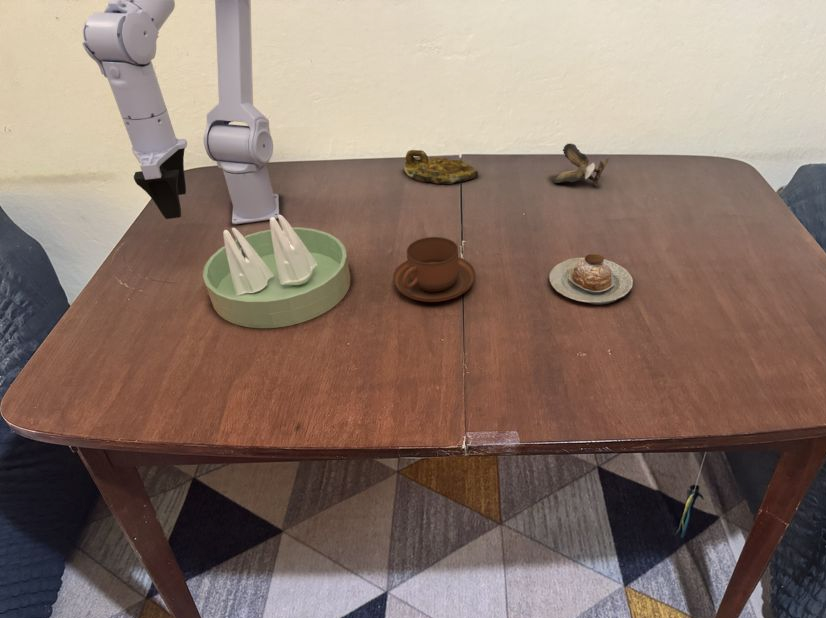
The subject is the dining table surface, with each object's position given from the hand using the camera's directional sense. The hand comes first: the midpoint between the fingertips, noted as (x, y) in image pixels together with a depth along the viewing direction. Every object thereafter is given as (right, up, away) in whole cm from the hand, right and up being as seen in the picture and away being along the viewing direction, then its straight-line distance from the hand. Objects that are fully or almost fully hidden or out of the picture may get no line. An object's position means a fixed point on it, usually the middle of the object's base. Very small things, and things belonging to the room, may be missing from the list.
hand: (176, 205), depth 94 cm
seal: (+38, +13, +31) cm, 50 cm away
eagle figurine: (+64, +10, +26) cm, 70 cm away
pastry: (+61, -12, 0) cm, 62 cm away
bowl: (+15, -12, +1) cm, 19 cm away
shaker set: (+15, -12, +1) cm, 19 cm away
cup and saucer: (+38, -12, +1) cm, 40 cm away
